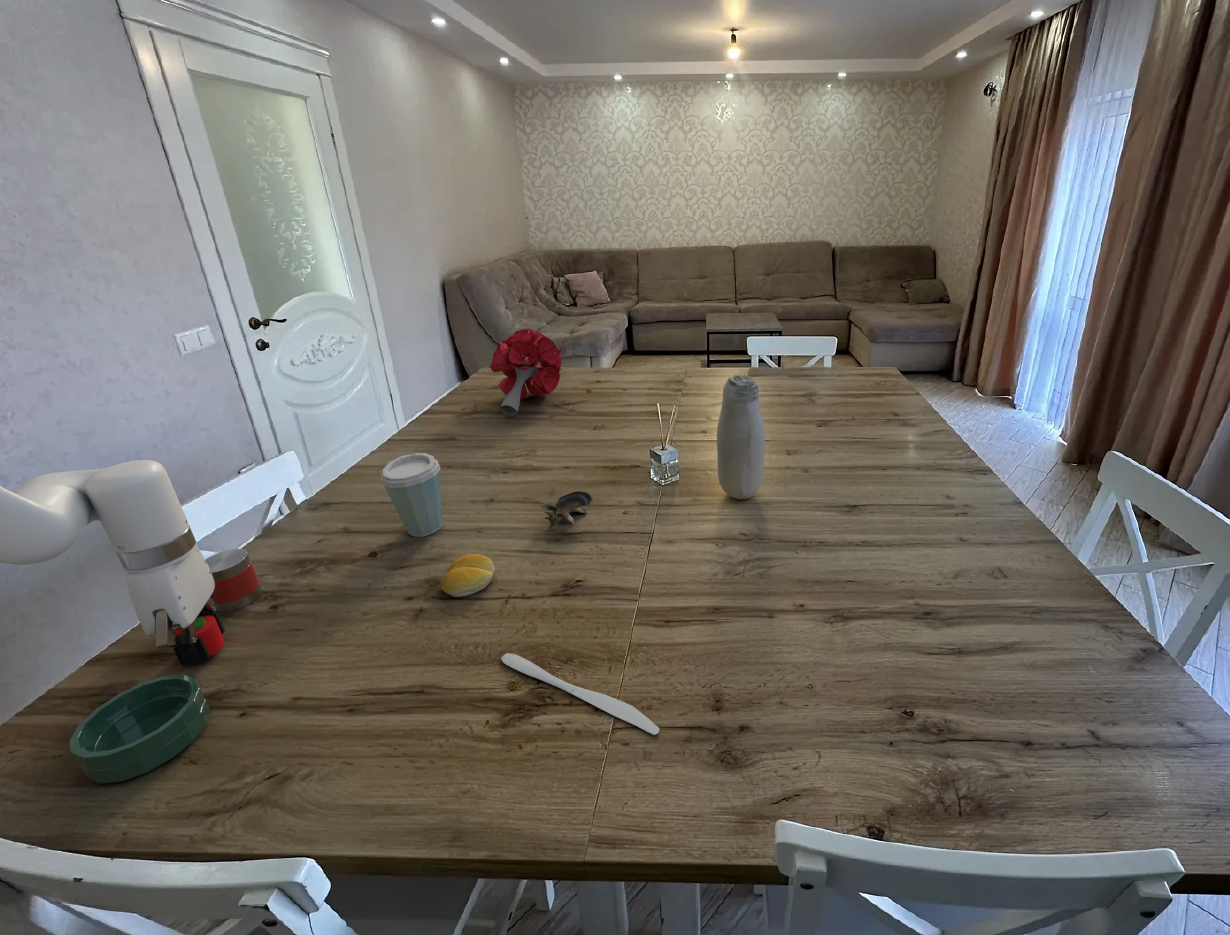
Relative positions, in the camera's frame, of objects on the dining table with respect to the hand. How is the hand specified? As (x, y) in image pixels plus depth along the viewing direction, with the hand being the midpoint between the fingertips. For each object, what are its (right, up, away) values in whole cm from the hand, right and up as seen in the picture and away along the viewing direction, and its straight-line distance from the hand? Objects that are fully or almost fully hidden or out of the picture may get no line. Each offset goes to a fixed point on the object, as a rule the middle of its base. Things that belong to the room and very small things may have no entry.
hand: (204, 647), depth 83 cm
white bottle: (+83, +16, +42) cm, 94 cm away
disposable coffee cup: (+17, +11, +30) cm, 37 cm away
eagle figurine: (+46, +12, +33) cm, 58 cm away
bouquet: (+17, +37, +98) cm, 106 cm away
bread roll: (+33, +5, +15) cm, 37 cm away
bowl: (+5, -6, -13) cm, 15 cm away
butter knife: (+58, -3, -7) cm, 58 cm away
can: (-5, +3, +11) cm, 13 cm away
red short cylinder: (0, 0, 0) cm, 0 cm away
